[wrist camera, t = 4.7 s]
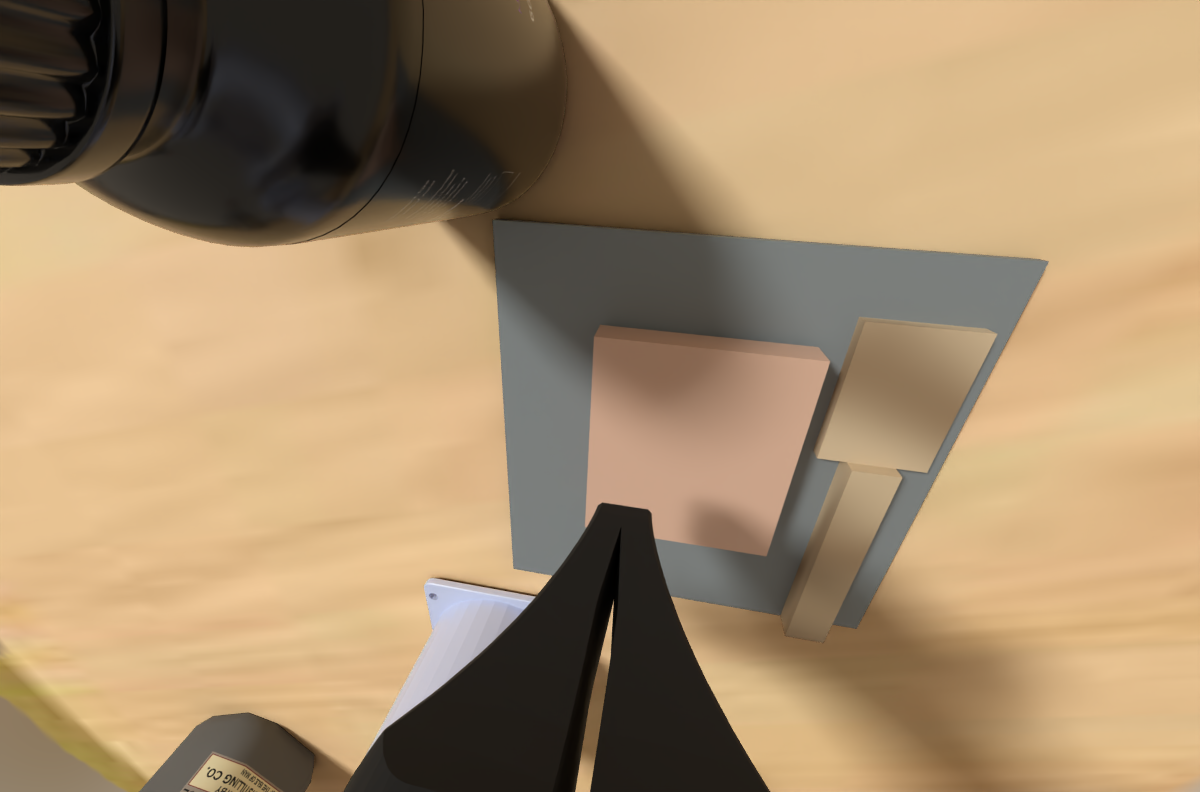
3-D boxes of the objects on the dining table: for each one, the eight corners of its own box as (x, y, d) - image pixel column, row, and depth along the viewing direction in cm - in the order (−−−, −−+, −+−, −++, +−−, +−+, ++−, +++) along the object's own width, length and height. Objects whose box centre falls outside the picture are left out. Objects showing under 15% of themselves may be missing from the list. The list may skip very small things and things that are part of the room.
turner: (840, 625, 19) (847, 647, 18) (757, 611, 20) (761, 631, 19) (986, 328, 13) (1009, 339, 12) (859, 316, 13) (872, 327, 12)
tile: (591, 502, 18) (759, 527, 18) (584, 527, 17) (766, 556, 16) (601, 321, 15) (816, 343, 14) (593, 336, 13) (830, 361, 12)
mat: (853, 620, 20) (856, 628, 19) (516, 562, 21) (513, 568, 21) (1038, 259, 12) (1048, 261, 12) (497, 218, 14) (492, 220, 14)
